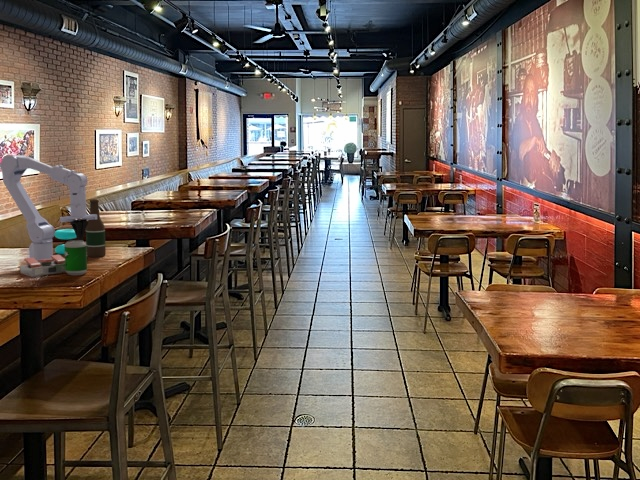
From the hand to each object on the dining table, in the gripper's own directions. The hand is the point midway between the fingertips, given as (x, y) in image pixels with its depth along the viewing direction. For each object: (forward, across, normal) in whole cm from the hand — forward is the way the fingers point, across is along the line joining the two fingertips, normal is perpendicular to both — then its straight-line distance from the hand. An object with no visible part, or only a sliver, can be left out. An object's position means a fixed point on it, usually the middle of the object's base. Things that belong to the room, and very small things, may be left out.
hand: (80, 239), depth 255 cm
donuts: (+10, +11, +31) cm, 35 cm away
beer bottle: (+11, +16, +16) cm, 25 cm away
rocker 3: (+6, -11, -3) cm, 13 cm away
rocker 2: (+6, -16, -3) cm, 17 cm away
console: (+10, -16, -3) cm, 19 cm away
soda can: (+11, -9, -13) cm, 19 cm away
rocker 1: (+6, -21, -3) cm, 22 cm away
